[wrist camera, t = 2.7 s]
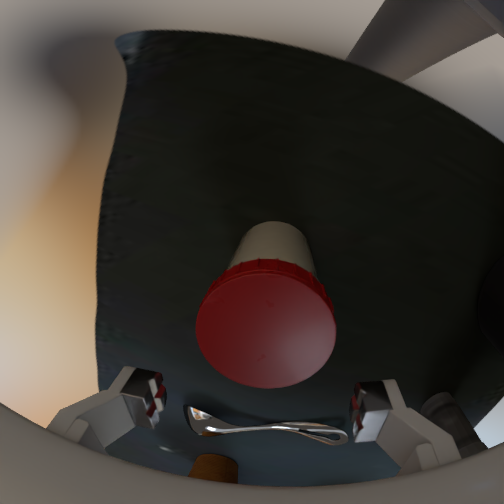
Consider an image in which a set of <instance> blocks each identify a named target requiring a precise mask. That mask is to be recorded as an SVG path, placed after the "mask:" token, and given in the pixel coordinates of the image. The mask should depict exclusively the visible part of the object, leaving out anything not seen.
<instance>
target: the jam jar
mask: <svg viewBox="0 0 504 504" xmlns="http://www.w3.org/2000/svg"><path fill="white" fill-rule="evenodd" d="M257 258H260V259H276V258H279V260H283V261H287V262H290V263H293V264H294V263H297V266H300V267H302V268H303V269H305V270H306V271H308V272H312V275H313V276H314V277H315V278H316V279H317V280H318V281H319V279H318V275H317V271H316V267H315V263H314V259H313V256H312V252H311V248H310V245H309V243H308V241H307V239H306V238H305V236H304V235H303V234H302V233H301V232H300V231H299V230H298V229H296V228H295V227H293V226H291V225H289V224H286V223H283V222H276V221H271V222H264V223H261V224H259V225H256V226H254V227H253V228H251V229H250V230H249V231H248V232H247V233H246V234H245V235H244V236H243V238H242V239H241V241H240V243H239V245H238V247H237V249H236V251H235V253H234V255H233V257H232V259H231V261H230V263H229V265H228V267H227V269H226V270H229V269H230V268H232V267H234V266H236V265H238V264H239V263H240V262H241V261H242V263H243V262H246V261H250V260H256V259H257Z"/></svg>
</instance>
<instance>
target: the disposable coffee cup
mask: <svg viewBox="0 0 504 504" xmlns="http://www.w3.org/2000/svg"><path fill="white" fill-rule="evenodd" d="M188 477H192V478H197V479H203V480H210V481H217V482H224V483H233V484H238V465H237V464H236V463H235V462H234V461H233V460H231V459H229V458H227V457H224V456H221V455H215V454H203V455H200V456H198V457H197V458H196V461H195V463H194V465H193V467H192V469H191V471H190V473H189V475H188Z"/></svg>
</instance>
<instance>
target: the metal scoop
mask: <svg viewBox="0 0 504 504" xmlns="http://www.w3.org/2000/svg"><path fill="white" fill-rule="evenodd" d="M183 411H184V416H185V419H186V421H187V424H188V425H189V427H190V428H191V430H192V431H194V432H195V433H196V434H198V435H201V436H206V437H211V436H219V435H224V434H229V433H234V432H242V431H252V430H268V429H274V430H285V431H290V432H294V433H297V434H300V435H303V436H306V437H309V438H312V439H314V440H317V441H320V442H323V443H326V444H331V445H341V444H344V443H346V442H347V441H348V439H349V437H348V434H347V433H346V432H345V431H344V430H342V429H340V428H337V427H334V426H329V425H325V424H319V423H311V422H279V423H271V424H264V425H254V426H239V425H233V424H229V423H227V422H224V421H222V420H220V419H218V418H216V417H213V416H211V415H209V414H207V413H204V412H202V411H199V410H197V409H195V408H193V407H191V406H189V405H186V404H184V405H183ZM299 429H302V430H307V431H312V432H317V433H322V434H328V435H329V434H333V433H334V434H338V435H340V438H339V439H336V440H332V439H330V438H328V437H325V436H320V435H315V434H310V433H305V432H301V431H299Z"/></svg>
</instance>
